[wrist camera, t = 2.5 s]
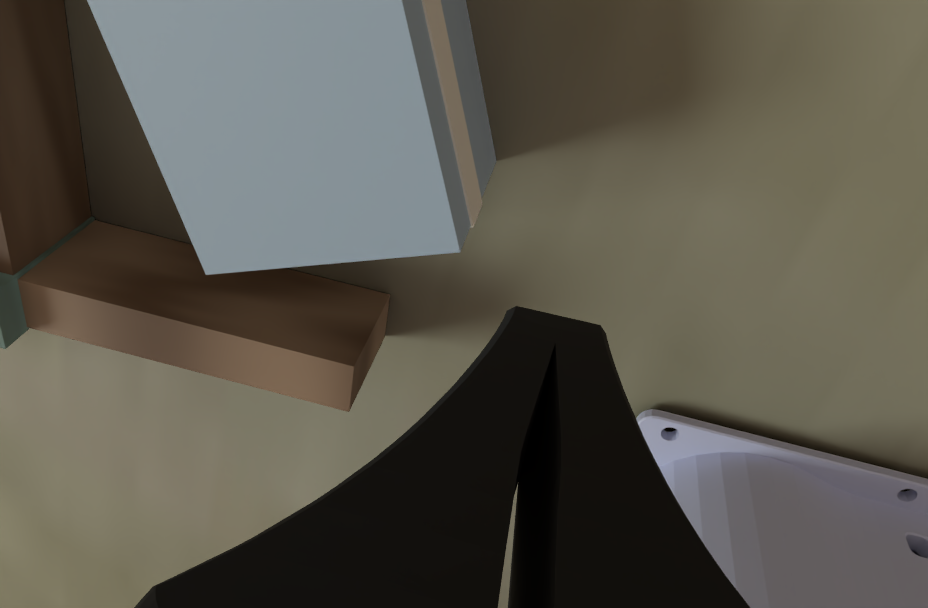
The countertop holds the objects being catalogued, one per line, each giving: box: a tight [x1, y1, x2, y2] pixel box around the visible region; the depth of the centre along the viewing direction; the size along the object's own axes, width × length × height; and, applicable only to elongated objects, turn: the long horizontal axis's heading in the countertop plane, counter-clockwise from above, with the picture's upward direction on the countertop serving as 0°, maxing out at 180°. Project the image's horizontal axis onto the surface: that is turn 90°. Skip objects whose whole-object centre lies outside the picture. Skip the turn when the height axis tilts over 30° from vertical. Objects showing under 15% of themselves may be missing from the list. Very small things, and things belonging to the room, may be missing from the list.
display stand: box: [0, 0, 390, 412], centre depth 18 cm, size 11×16×4 cm
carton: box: [87, 0, 496, 275], centre depth 17 cm, size 6×8×5 cm
